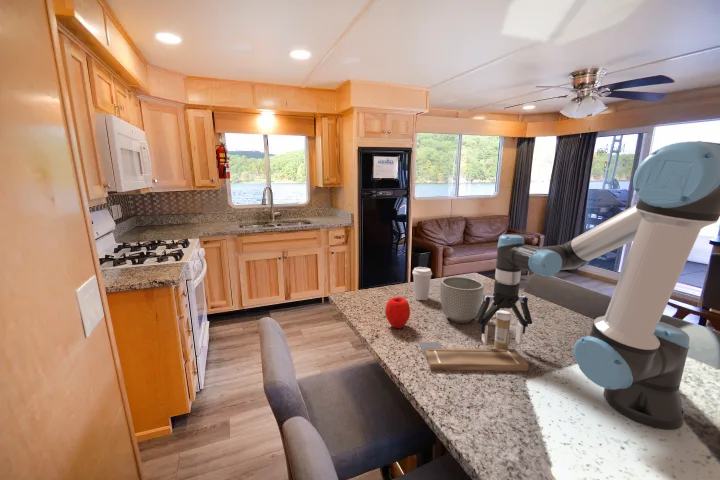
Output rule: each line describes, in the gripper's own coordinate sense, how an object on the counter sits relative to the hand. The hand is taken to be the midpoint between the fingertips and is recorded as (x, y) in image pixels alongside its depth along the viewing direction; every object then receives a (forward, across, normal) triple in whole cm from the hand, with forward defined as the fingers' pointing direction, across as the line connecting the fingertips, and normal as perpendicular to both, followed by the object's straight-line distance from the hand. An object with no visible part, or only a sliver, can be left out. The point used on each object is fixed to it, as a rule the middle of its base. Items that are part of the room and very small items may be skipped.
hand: (501, 341), depth 106 cm
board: (+3, +12, +8) cm, 15 cm away
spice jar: (+3, 0, 0) cm, 3 cm away
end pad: (+3, +24, 0) cm, 24 cm away
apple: (+3, +34, -16) cm, 38 cm away
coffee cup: (+3, +19, -46) cm, 50 cm away
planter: (+3, +7, -24) cm, 25 cm away
